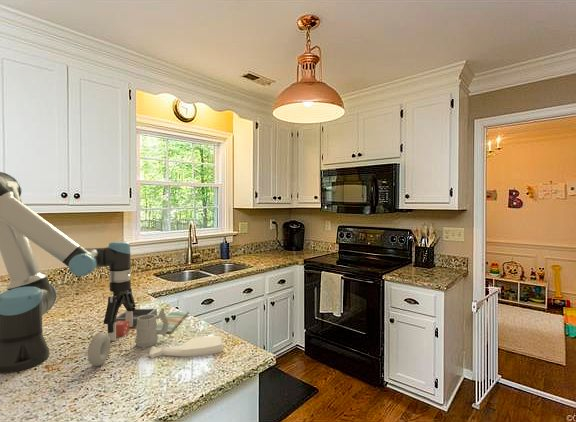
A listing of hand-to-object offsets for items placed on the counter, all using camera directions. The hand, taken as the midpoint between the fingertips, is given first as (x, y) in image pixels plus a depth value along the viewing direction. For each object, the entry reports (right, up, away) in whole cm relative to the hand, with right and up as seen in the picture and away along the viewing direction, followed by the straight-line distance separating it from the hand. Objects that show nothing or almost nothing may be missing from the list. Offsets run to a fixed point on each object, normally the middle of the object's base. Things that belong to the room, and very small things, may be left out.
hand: (121, 333), depth 128 cm
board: (+16, 0, +12) cm, 20 cm away
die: (0, 0, 0) cm, 0 cm away
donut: (+6, -1, -25) cm, 26 cm away
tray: (-1, 0, +15) cm, 15 cm away
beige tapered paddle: (+31, -1, -15) cm, 35 cm away
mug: (+16, 0, -8) cm, 18 cm away
